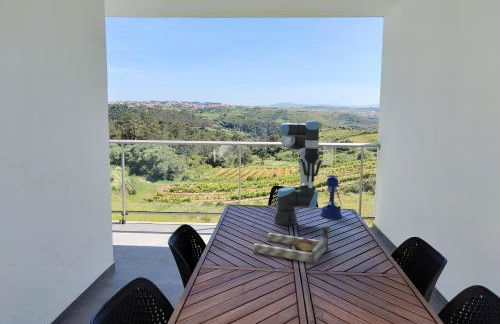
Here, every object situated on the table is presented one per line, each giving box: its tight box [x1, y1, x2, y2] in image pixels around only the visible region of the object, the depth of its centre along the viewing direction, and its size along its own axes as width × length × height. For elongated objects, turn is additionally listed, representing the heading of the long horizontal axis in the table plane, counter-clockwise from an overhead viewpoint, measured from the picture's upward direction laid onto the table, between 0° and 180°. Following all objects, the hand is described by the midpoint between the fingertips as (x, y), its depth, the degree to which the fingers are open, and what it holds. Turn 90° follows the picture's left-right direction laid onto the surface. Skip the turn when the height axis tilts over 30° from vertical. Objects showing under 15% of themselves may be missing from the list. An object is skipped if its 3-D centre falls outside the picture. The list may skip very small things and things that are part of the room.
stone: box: [294, 237, 315, 253], centre depth 190 cm, size 15×9×5 cm, turn 14°
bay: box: [252, 225, 331, 264], centre depth 193 cm, size 34×26×12 cm
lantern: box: [319, 174, 343, 220], centre depth 259 cm, size 17×15×30 cm
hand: (310, 187), depth 214 cm, fingers closed
